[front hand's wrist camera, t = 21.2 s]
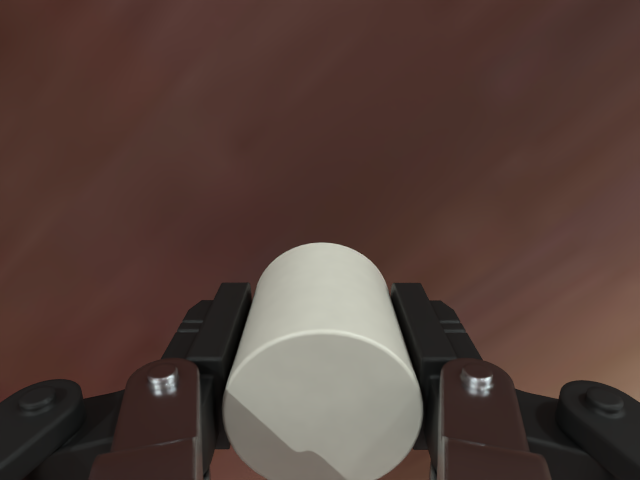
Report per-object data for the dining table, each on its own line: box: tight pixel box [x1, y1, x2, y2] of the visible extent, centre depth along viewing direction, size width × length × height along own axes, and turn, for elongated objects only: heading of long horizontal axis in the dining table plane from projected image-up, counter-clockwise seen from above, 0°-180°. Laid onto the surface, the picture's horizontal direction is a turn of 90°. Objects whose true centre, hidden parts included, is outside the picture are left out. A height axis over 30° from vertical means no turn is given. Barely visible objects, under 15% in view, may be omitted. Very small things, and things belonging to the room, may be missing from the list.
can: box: [222, 243, 423, 480], centre depth 10 cm, size 4×4×4 cm
